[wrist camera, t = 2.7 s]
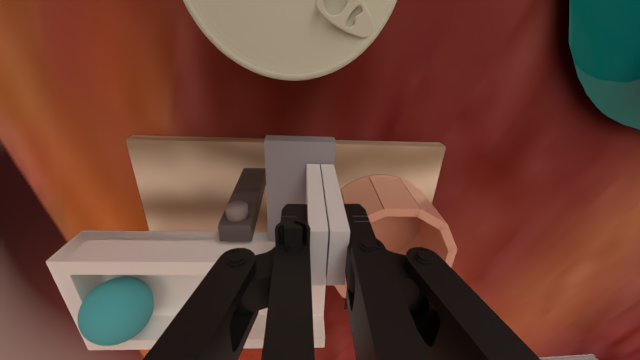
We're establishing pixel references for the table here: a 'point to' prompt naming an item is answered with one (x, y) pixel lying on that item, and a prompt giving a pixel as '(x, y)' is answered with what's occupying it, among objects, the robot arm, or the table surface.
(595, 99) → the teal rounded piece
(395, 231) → the cup
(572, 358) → the book
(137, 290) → the ball
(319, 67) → the can
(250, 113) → the table surface
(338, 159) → the stand
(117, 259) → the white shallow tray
